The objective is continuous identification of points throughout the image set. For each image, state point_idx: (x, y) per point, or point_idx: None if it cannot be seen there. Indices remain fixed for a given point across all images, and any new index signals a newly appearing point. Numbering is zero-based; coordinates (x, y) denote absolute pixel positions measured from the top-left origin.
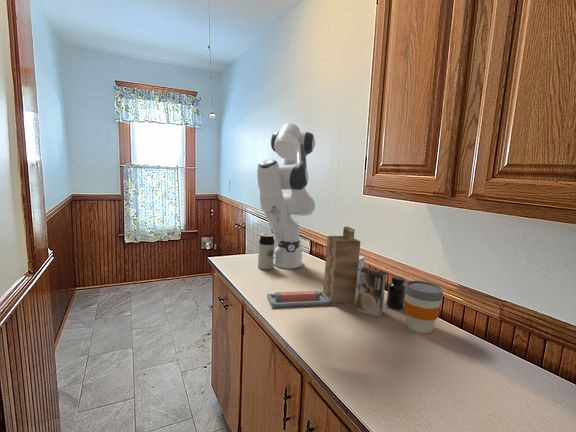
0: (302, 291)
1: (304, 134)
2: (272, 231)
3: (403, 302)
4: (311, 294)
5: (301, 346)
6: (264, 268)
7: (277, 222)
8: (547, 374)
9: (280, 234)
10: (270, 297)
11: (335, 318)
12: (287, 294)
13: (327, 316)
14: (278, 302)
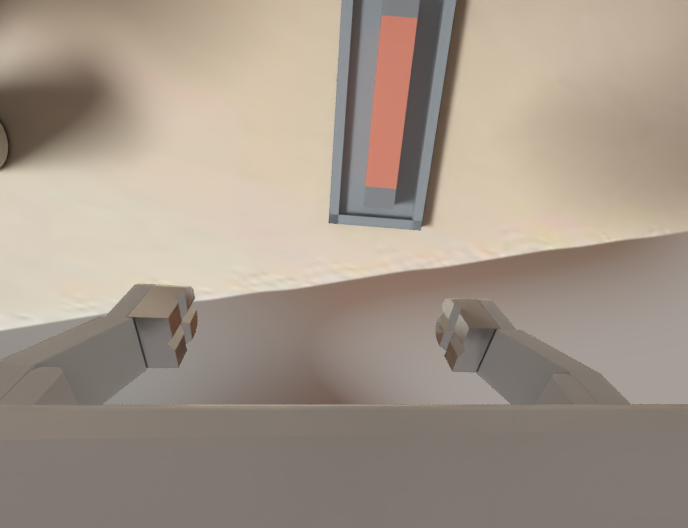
0: (377, 77)
1: None
2: (183, 340)
3: None
4: (413, 41)
5: (673, 213)
6: (3, 149)
7: (142, 407)
8: None
9: (590, 372)
10: (363, 221)
11: (573, 7)
12: (396, 161)
13: (545, 36)
14: None
